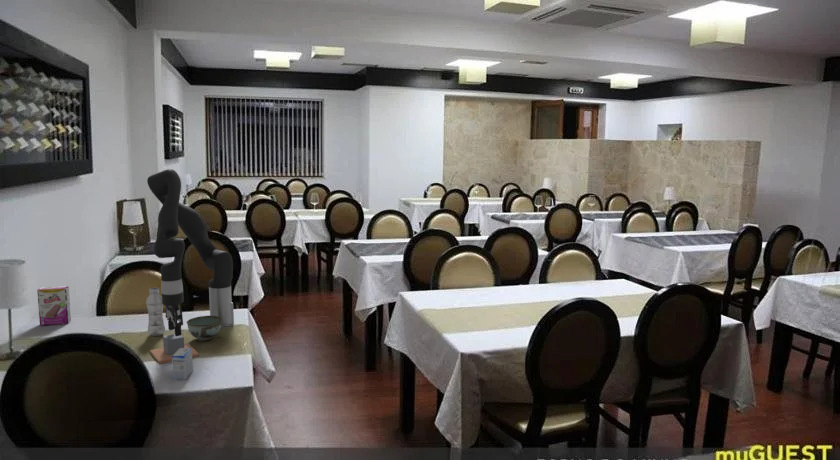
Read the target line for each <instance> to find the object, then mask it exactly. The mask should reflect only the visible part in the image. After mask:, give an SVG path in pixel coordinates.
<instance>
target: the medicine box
mask: <svg viewBox="0 0 840 460" xmlns="http://www.w3.org/2000/svg"><path fill="white" fill-rule="evenodd" d="M171 363H172V380H173V381H179V380H181V381H185V380H187V378H188V377H189V376H190V375H191V373H192V372H193V369H194V368H193V367H194V366H193V365H194V364H193V357H192V348H179V349H178V350H177V352H176V353H175V354H174V355H173V356H172V361H171Z"/></svg>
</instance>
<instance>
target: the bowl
mask: <svg viewBox="0 0 840 460" xmlns="http://www.w3.org/2000/svg"><path fill="white" fill-rule="evenodd" d="M221 321H222V318H221V317H218V316H210V315H202V316H201V315H200V316H196V317H193V318H190V319H188V320H187V321H186V324H187V328H188V331H189V333H190V335H191V336H192V337H194V338H196V339H197V341H199V342H208V341H212V340H213V339H214V337H215V336H216V335H217V334H218V333H219V332H220V330H221V328H222V327H221Z"/></svg>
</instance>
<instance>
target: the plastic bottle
mask: <svg viewBox="0 0 840 460" xmlns="http://www.w3.org/2000/svg"><path fill="white" fill-rule="evenodd" d="M148 291H149V292H148V293H149V295H148V297H147V298H146V301H145V303H146V307H147V314H148V324H147V325H148V326H147V332H148V335H149V336H152V337H159V336H164V333H165V332H166V326H165V323H164V316H163V315H164V314H163V311H164V310H163V308H164V305H163V304H162V295H160V288H159V287H151V288H149V289H148Z"/></svg>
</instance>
